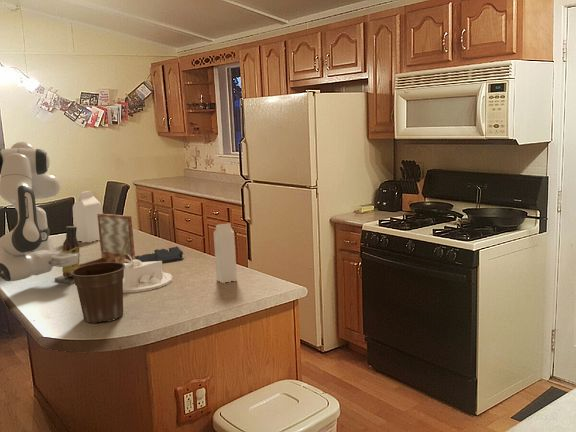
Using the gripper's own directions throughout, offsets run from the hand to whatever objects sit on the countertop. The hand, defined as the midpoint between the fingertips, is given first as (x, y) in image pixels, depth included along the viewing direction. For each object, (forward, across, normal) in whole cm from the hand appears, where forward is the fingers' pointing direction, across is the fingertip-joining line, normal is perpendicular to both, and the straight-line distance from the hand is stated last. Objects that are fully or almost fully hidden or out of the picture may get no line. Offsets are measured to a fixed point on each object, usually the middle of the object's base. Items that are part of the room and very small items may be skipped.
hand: (72, 253), depth 225 cm
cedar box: (+14, 0, +10) cm, 18 cm away
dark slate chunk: (+36, -10, +11) cm, 39 cm away
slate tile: (-1, 0, +10) cm, 10 cm away
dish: (+7, -29, +11) cm, 32 cm away
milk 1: (+54, +57, +10) cm, 79 cm away
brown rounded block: (+19, -6, +10) cm, 22 cm away
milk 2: (+23, -59, +11) cm, 64 cm away
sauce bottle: (-2, 0, +9) cm, 9 cm away
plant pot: (-26, -47, +11) cm, 55 cm away
